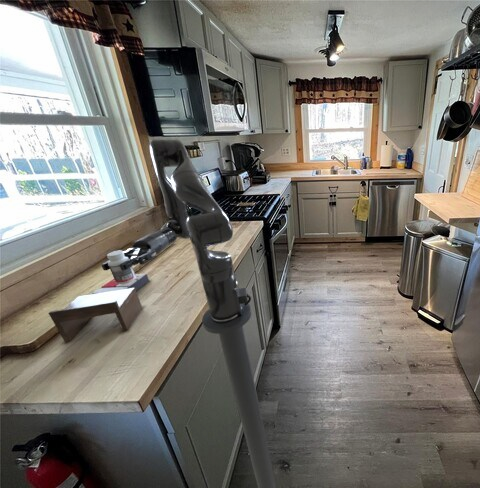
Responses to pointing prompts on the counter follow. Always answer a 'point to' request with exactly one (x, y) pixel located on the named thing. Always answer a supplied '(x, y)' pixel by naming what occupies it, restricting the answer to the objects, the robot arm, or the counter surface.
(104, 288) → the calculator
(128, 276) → the pill bottle
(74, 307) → the spice shelf
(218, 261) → the robot arm
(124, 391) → the counter surface
